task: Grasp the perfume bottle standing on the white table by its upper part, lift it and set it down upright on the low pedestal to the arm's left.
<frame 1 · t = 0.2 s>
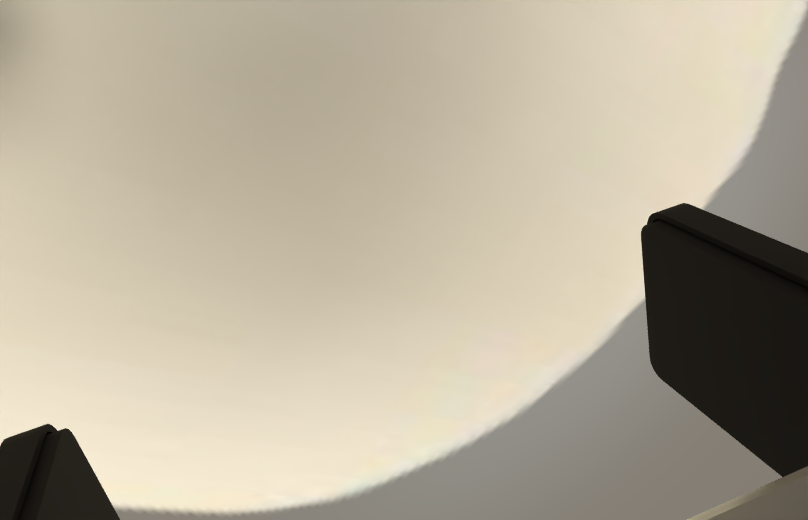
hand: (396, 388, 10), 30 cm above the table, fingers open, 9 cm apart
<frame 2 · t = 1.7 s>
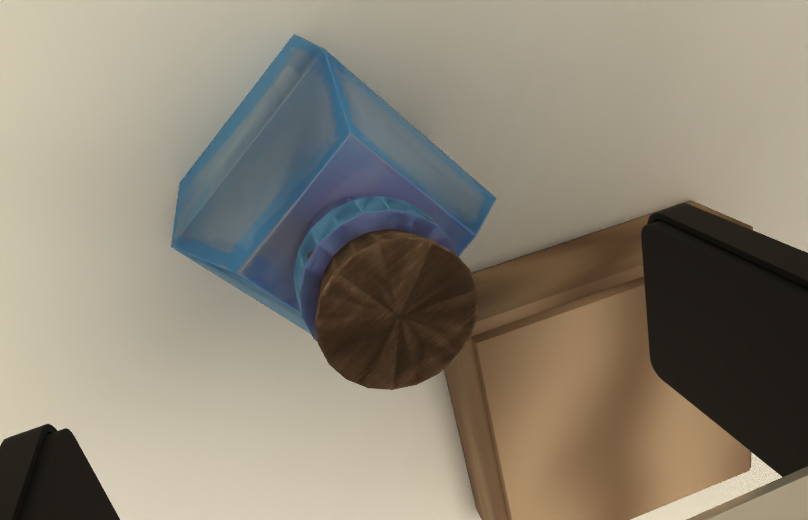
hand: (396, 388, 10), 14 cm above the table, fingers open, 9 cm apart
perfume bottle: (309, 165, 23), on the table
pedestal: (578, 363, 30), on the table
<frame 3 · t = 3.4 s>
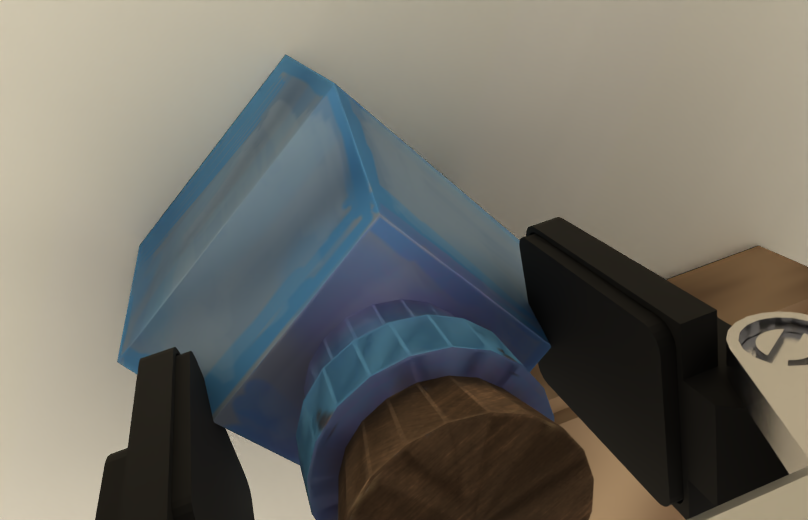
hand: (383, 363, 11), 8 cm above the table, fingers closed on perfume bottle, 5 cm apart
perfume bottle: (305, 217, 19), on the table, touching gripper
pedestal: (624, 437, 25), on the table
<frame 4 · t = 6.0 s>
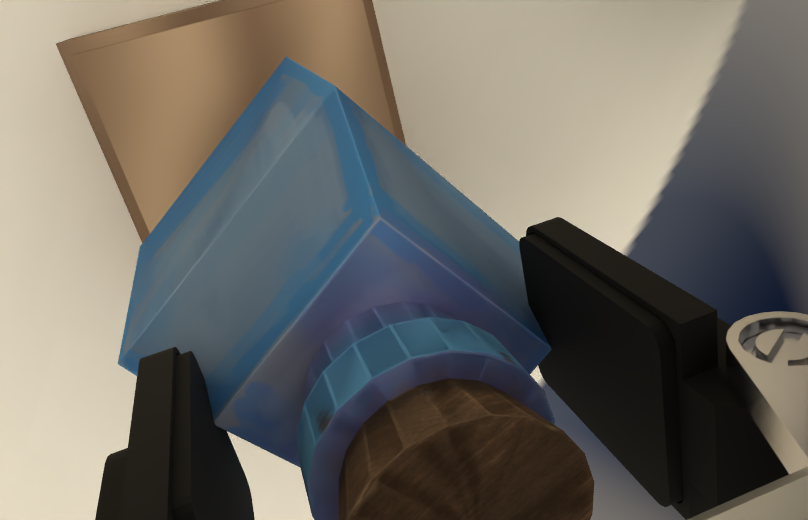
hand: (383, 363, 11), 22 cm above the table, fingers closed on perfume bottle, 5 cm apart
perfume bottle: (305, 218, 19), point 14 cm above the table, touching gripper
pedestal: (256, 136, 31), on the table
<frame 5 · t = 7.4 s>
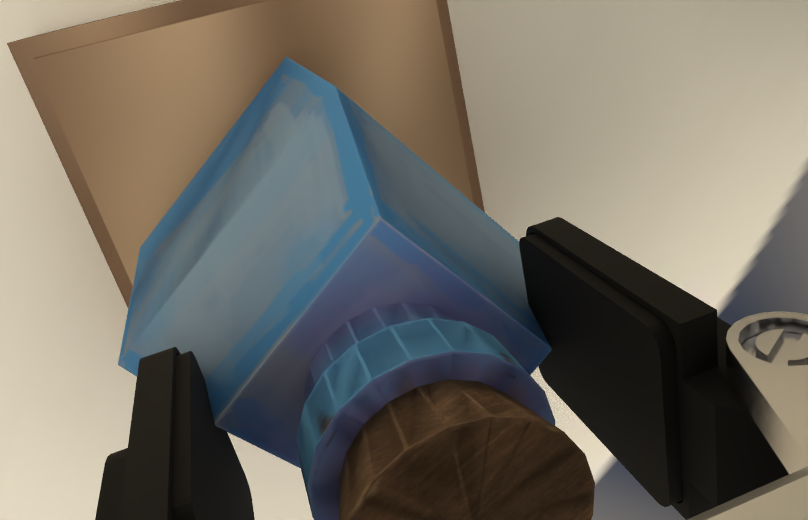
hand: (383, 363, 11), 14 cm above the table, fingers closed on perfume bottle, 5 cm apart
perfume bottle: (305, 219, 19), point 6 cm above the table, touching gripper
pedestal: (281, 164, 24), on the table
when the fingers open (12 cm above the table, at t = 8.7 s): perfume bottle stays where it is, resting on pedestal.
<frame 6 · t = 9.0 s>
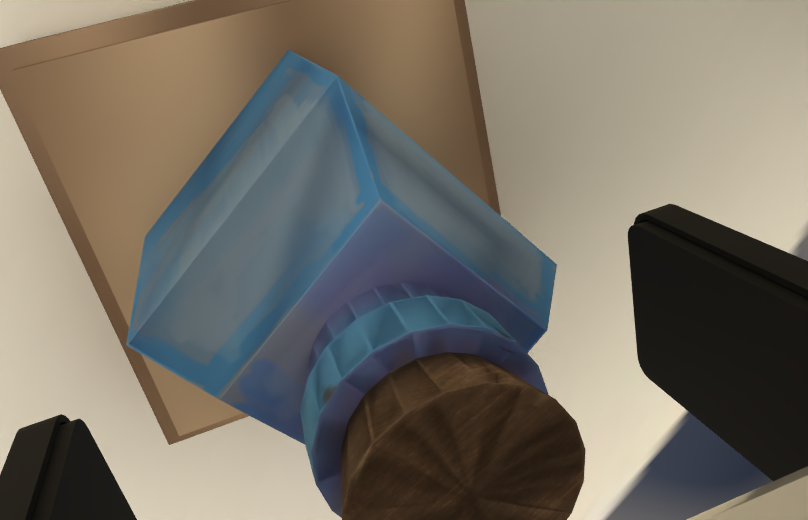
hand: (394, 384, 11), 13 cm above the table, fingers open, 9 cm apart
perfume bottle: (307, 209, 19), point 4 cm above the table, touching pedestal
pedestal: (284, 180, 22), on the table
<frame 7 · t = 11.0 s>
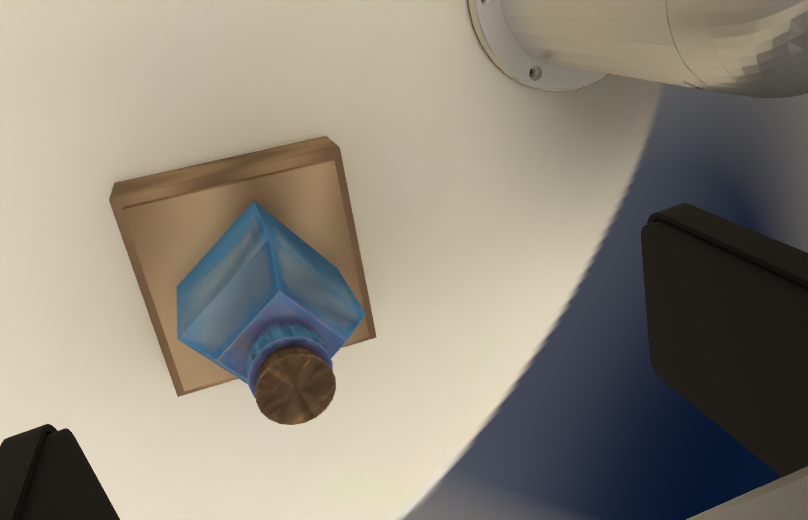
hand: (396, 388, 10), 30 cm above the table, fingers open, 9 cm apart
perfume bottle: (259, 276, 37), point 4 cm above the table, touching pedestal
pedestal: (249, 254, 40), on the table
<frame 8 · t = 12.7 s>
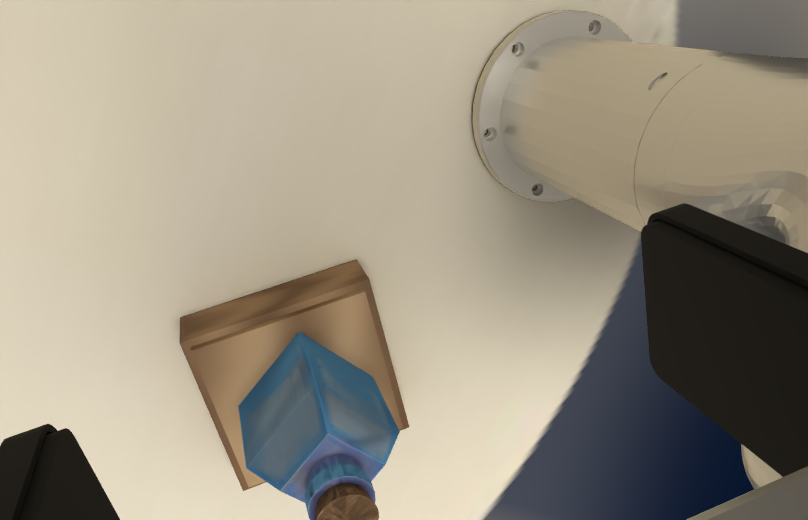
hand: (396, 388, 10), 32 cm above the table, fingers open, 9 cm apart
perfume bottle: (306, 389, 43), point 4 cm above the table, touching pedestal
pedestal: (296, 362, 46), on the table
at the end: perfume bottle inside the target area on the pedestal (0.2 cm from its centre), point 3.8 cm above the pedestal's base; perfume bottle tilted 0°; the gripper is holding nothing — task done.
